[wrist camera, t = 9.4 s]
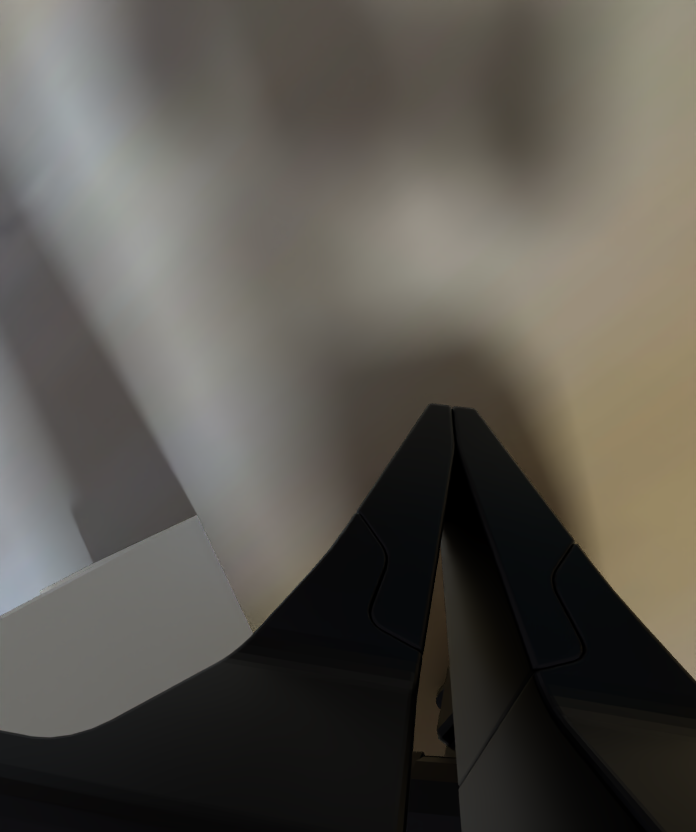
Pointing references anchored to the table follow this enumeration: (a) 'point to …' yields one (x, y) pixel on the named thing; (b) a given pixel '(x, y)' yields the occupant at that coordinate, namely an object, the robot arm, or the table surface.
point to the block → (117, 634)
